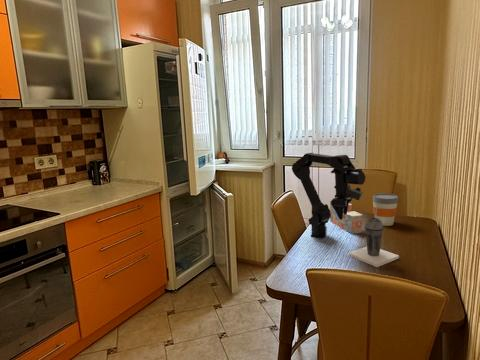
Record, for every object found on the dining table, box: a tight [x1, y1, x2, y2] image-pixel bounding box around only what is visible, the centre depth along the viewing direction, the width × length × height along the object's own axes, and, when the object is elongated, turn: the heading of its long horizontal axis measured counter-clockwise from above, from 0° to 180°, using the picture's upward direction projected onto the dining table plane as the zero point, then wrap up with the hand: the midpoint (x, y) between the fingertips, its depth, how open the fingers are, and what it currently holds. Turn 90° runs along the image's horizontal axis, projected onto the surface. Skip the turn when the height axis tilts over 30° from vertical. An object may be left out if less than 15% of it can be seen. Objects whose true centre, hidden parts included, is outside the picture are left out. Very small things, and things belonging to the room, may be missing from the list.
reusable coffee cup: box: [372, 193, 399, 227], centre depth 184 cm, size 13×13×15 cm
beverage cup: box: [364, 207, 384, 256], centre depth 142 cm, size 7×7×20 cm
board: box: [347, 246, 400, 268], centre depth 144 cm, size 14×14×1 cm
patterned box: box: [329, 200, 364, 234], centre depth 181 cm, size 21×6×12 cm, turn 15°
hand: (343, 216), depth 157 cm, fingers open, 9 cm apart
